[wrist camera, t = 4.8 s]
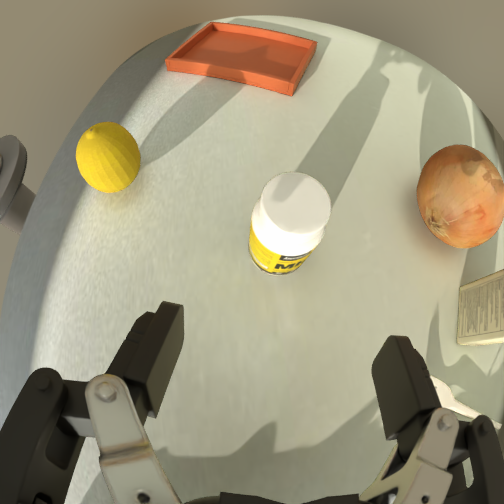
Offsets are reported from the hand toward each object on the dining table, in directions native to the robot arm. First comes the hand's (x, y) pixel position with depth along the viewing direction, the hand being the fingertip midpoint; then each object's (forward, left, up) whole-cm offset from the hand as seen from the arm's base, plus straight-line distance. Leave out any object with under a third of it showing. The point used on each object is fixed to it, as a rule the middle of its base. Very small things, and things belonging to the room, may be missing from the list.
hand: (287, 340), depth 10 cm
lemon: (-17, +8, -11) cm, 22 cm away
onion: (+14, +17, -11) cm, 25 cm away
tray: (-14, +32, -11) cm, 37 cm away
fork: (+24, -2, -11) cm, 26 cm away
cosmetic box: (+21, +8, -11) cm, 25 cm away
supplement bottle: (-1, +7, -11) cm, 14 cm away
